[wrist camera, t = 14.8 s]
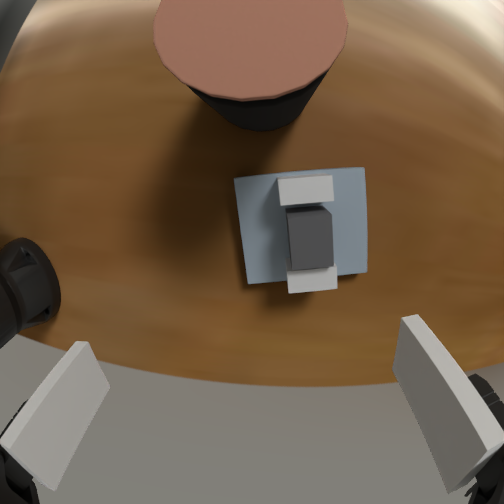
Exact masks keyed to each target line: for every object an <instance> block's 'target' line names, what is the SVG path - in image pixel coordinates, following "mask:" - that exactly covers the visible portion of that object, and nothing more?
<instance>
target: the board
mask: <svg viewBox="0 0 504 504" xmlns="http://www.w3.org/2000/svg"><path fill="white" fill-rule="evenodd" d="M234 184H235V192H236V199H237V207H238V214H239V222H240V229H241V236H242V244H243V251H244V258H245V266H246V273H247V280H248V284H254V283H266V282H277V281H287V283H288V292H289V293H300V292H310V291H319V290H329V289H337V276H338V275H347V274H356V273H364V272H367V205H366V185H365V170H364V168H362V167H349V168H331V169H316V170H303V171H291V172H281V173H271V174H261V175H253V176H244V177H236V178H234ZM321 205H323V206H324V207H325V208H326V209H327V210H328V211H329V212H330V213H331V214H332V226H333V251H334V266H332V267H322V268H312V269H302V270H292V266H291V260H290V254H289V244H288V232H287V221H286V211H285V209H286V208H297V207H309V206H321Z"/></svg>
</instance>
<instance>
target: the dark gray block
mask: <svg viewBox="0 0 504 504" xmlns="http://www.w3.org/2000/svg"><path fill="white" fill-rule="evenodd" d="M285 211H286V221H287V232H288V244H289V254H290V260H291V266H292V270H302V269H312V268H322V267H332V266H334V251H333V226H332V214H331V213H330V212H329V211H328V210H327V209H326V208H325V207H324V206H323V205H321V206H309V207H297V208H286V209H285Z"/></svg>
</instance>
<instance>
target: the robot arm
mask: <svg viewBox="0 0 504 504" xmlns="http://www.w3.org/2000/svg"><path fill="white" fill-rule="evenodd" d="M59 306H60V288H59V283H58V279H57V276H56V274H55V271H54V269H53V267H52V265H51V263H50V261H49V259H48V258H47V256H46V255H45V253H44V252H43V251H42V250H41V248H40V247H39V246H38V245H37V244H35V243H34V242H33V241H31V240H29V239H26V238H18V239H15V240H13V241H11V242H9V243H8V244H6V245H5V246H4V247H3V248H2V250H1V251H0V349H1V348H2V347H3V346H4V345H5V344H6V343H7V342H8V341H9V340H11V339H12V338H13V337H14V336H15V335H16V334H17V333H18V332H20V331H21V330H22V329H26V328H29V327H33V326H36V325H39V324H43V323H45V322H47V321H48V320H50V319H51V318H52V317H53V316H54V315H55V314H56V313H57V311H58V309H59ZM392 371H393V372H394V374H395V376H396V378H397V380H398V382H399V384H400V386H401V388H402V390H403V392H404V394H405V396H406V398H407V401H408V403H409V405H410V407H411V409H412V411H413V413H414V415H415V417H416V419H417V422H418V424H419V426H420V428H421V430H422V432H423V435H424V437H425V439H426V441H427V444H428V446H429V448H430V451H431V453H432V455H433V458H434V460H435V463H436V465H437V467H438V470H439V472H440V475H441V477H442V480H443V482H444V485H445V488H446V490H447V493H448V494H449V493H451V492H453V491H455V490H457V489H459V488H461V487H463V486H465V485H467V484H468V483H469V482H470V481H471V480H472V479H473V478H474V477H476V479H477V483H475V484H474V485H473V486H472V487H471V488H470V489H469V490H468V491H467V493H466V494H465V496H466V497H467V496H468V495H469V494H470V493H471V492H472V495H471V498H470V500H469V503H468V504H504V404H503V403H502V401H500V398H499V397H498V396H497V394H496V393H494V390H493V389H492V388H491V386H490V385H489V383H488V382H487V381H486V380H485V379H483V378H482V377H480V376H479V375H477V374H474V375H471V376H469V377H467V376H466V375H465V373H464V372H463V371H462V369H461V368H460V367H459V365H458V364H457V363H456V361H455V360H454V359H453V357H452V356H451V355H450V354H449V352H448V351H447V350H446V348H445V347H444V346H443V345H442V343H441V342H440V341H439V340H438V338H437V337H436V336H435V335H434V333H433V332H432V331H431V330H430V329H429V327H428V326H427V325H426V324H425V322H424V321H423V320H422V319H421V318H420V317H419V315H418V314H417V315H412V316H407V317H403V318H401V323H400V330H399V336H398V342H397V348H396V353H395V358H394V363H393V368H392ZM109 389H110V385H109V383H108V381H107V379H106V377H105V375H104V374H103V372H102V370H101V368H100V366H99V364H98V362H97V360H96V358H95V355H94V353H93V351H92V349H91V347H90V345H89V343H88V342H81V341H76V342H75V343H74V344H73V346H72V347H71V348H70V349H69V350H68V351H67V353H66V354H65V355H64V356H63V357H62V359H61V360H60V361H59V362H58V364H57V365H56V366H55V367H54V368H53V369H52V371H51V372H50V373H49V374H48V376H47V377H46V378H45V379H44V381H43V382H42V383H41V384H40V386H39V387H38V388H37V389H36V391H35V392H34V393H33V395H32V396H31V397H30V398H29V399H28V400H27V401H25V402H24V403H23V404H22V406H21V407H20V408H19V410H18V413H16V414H15V415H14V416H13V419H11V421H10V422H9V423H8V425H7V426H6V428H5V429H4V431H3V432H2V434H1V435H0V504H40V503H39V499H38V494H37V489H36V486H35V483H34V482H33V481H32V479H33V477H34V478H35V479H36V480H37V481H39V482H40V483H41V484H42V485H44V486H46V487H47V488H50V489H51V490H54V491H56V489H57V487H58V485H59V483H60V480H61V478H62V476H63V474H64V472H65V470H66V468H67V466H68V464H69V462H70V460H71V458H72V456H73V454H74V453H75V451H76V449H77V447H78V445H79V443H80V441H81V439H82V437H83V435H84V433H85V432H86V430H87V428H88V426H89V424H90V422H91V421H92V419H93V417H94V415H95V413H96V411H97V410H98V408H99V406H100V404H101V403H102V401H103V399H104V397H105V395H106V394H107V392H108V390H109Z"/></svg>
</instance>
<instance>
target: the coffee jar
mask: <svg viewBox="0 0 504 504" xmlns="http://www.w3.org/2000/svg"><path fill="white" fill-rule="evenodd" d="M347 27H348V21H347V17H346V13H345V9H344V6H343V2H342V0H161V3H160V5H159V8H158V10H157V13H156V15H155V18H154V45H155V48H156V50H157V52H158V54H159V57H160V59H161V61H162V63H163V65H164V66H165V67H166V68H167V69H168V70H169V71H170V72H171V73H172V74H173V75H174V76H176V77H177V78H178V79H179V80H180V81H181V82H182V83H184V84H186V85H187V86H188V87H189V88H190V89H191V90H192V91H193V92H194V93H195V94H196V95H198V96H199V97H200V98H201V99H203V100H204V101H205V102H206V103H207V104H209V105H210V106H211V107H212V108H214V109H215V110H216V111H217V112H218V113H219V114H221V115H222V116H223V117H224V118H225V119H227V120H228V121H229V122H231V123H233V124H235V125H237V126H239V127H240V128H243V129H248V130H253V131H257V132H258V131H269V130H275V129H277V128H280V127H283V126H285V125H288V124H289V123H290V122H292V121H293V120H294V119H295V118H297V117H298V116H299V115H300V114H301V112H302V111H303V109H304V107H305V106H306V104H307V103H308V101H309V100H310V98H311V97H312V95H313V93H314V92H315V90H316V89H317V87H318V86H319V84H320V83H321V81H322V80H323V78H324V77H325V75H326V74H327V72H328V71H329V69H330V68H331V66H332V65H333V63H334V61H335V60H336V58H337V57H338V55H339V54H340V52H341V51H342V49H343V48H344V44H345V39H346V33H347Z"/></svg>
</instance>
